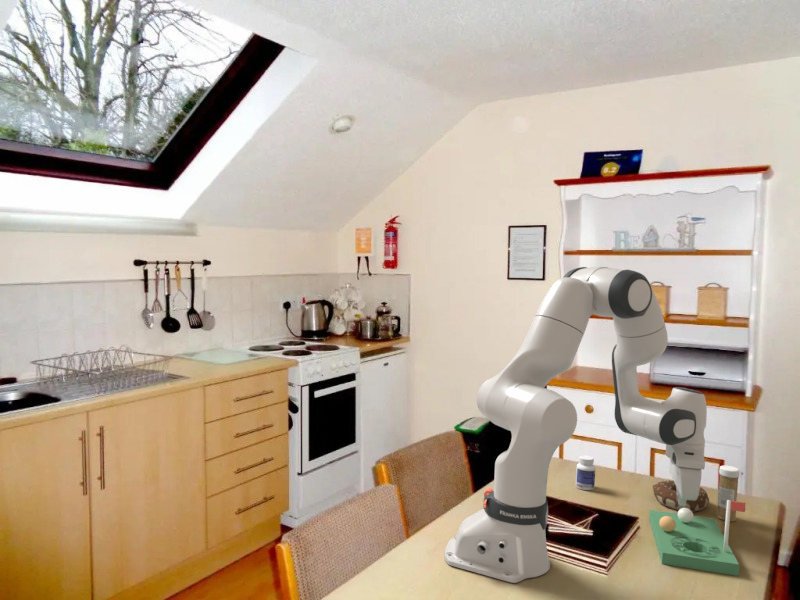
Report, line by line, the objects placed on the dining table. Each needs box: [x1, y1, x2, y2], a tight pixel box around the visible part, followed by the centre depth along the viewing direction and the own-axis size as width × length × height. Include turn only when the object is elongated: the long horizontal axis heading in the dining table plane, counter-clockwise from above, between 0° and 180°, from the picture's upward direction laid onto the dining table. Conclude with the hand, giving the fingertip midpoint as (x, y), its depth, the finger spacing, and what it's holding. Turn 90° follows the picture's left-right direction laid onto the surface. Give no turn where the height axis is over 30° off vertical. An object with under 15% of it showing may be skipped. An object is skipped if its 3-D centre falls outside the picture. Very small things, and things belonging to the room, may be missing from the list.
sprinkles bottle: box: [716, 464, 740, 522], centre depth 158 cm, size 5×5×14 cm
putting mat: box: [648, 500, 746, 577], centre depth 142 cm, size 17×24×14 cm
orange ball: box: [659, 516, 676, 532], centre depth 143 cm, size 4×4×4 cm
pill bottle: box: [575, 454, 596, 491], centre depth 176 cm, size 5×5×9 cm
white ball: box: [677, 508, 694, 523], centre depth 149 cm, size 4×4×4 cm
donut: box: [652, 479, 710, 513], centre depth 167 cm, size 14×14×5 cm
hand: (681, 503), depth 156 cm, fingers closed
